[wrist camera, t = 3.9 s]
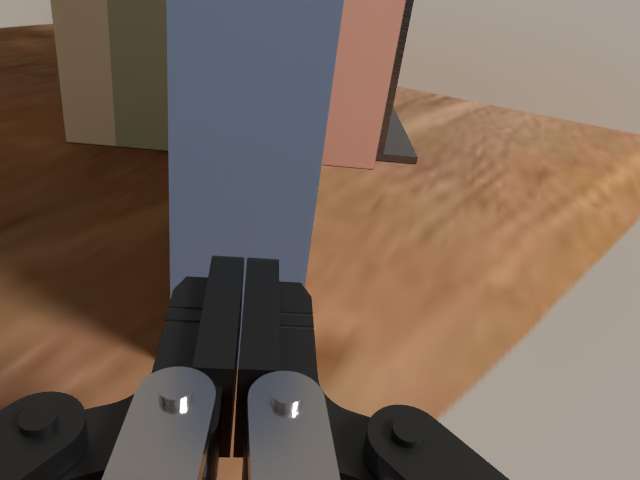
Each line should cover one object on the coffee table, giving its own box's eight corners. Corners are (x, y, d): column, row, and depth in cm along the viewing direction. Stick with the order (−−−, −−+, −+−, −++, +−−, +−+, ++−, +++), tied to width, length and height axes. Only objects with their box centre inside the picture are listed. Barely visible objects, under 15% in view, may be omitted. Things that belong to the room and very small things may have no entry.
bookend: (370, 159, 40) (402, -13, 34) (352, 101, 50) (374, -40, 44) (416, 163, 40) (455, -6, 34) (388, 105, 50) (415, -34, 45)
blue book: (169, 365, 21) (156, -576, 10) (211, 174, 35) (226, -318, 23) (294, 371, 22) (418, -516, 10) (288, 181, 36) (339, -298, 24)
